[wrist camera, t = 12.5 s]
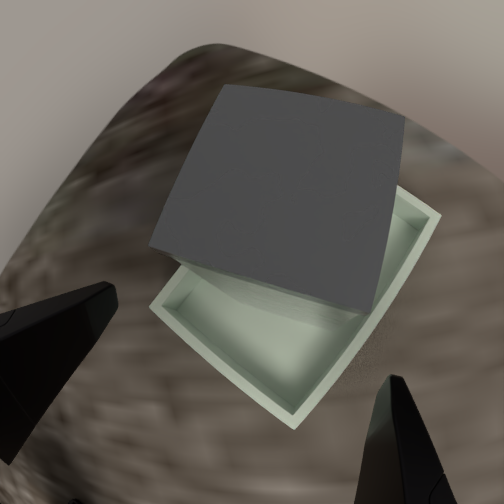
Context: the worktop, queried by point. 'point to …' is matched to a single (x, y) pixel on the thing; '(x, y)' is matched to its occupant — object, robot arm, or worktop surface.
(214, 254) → the tin
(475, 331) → the worktop surface
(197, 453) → the worktop surface
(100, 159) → the worktop surface
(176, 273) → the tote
